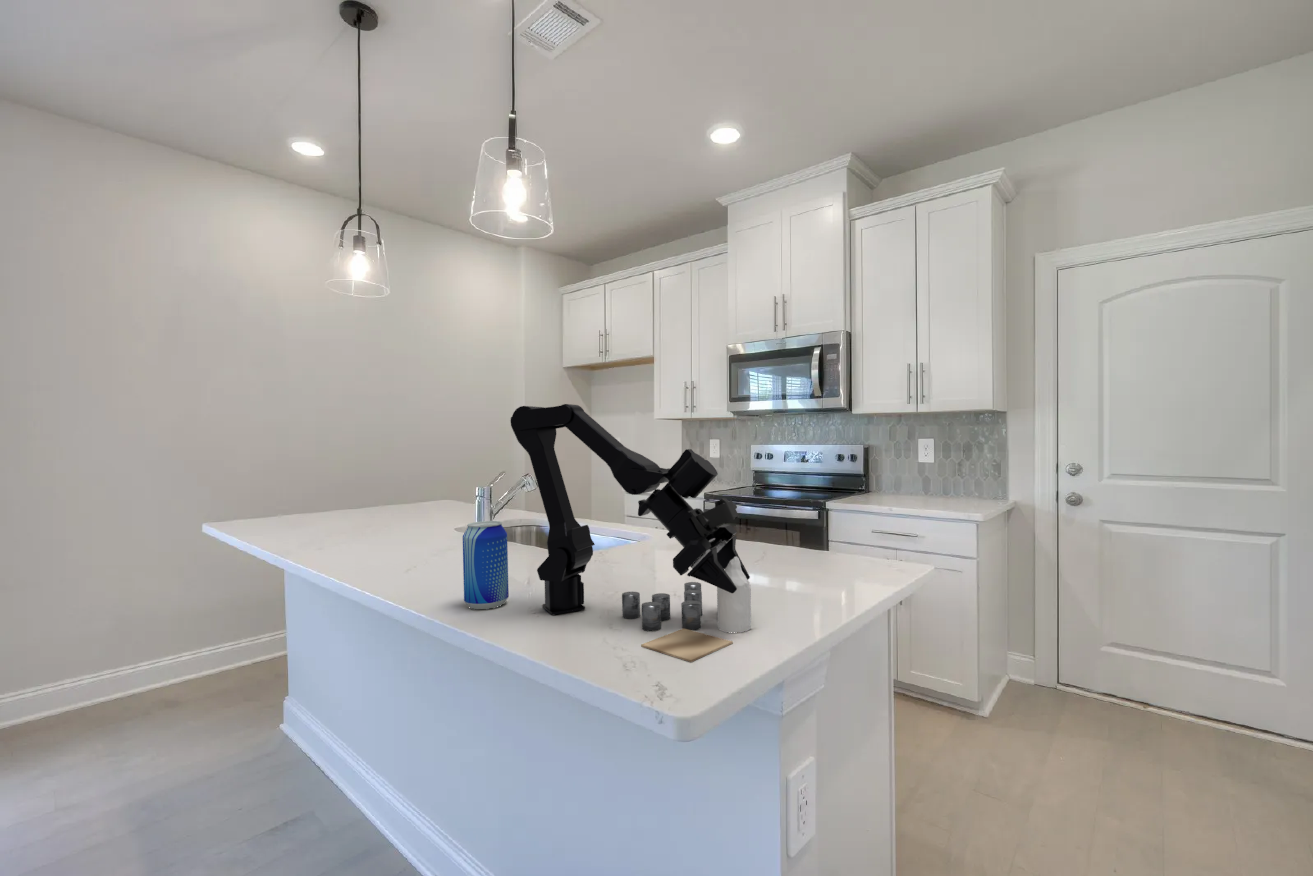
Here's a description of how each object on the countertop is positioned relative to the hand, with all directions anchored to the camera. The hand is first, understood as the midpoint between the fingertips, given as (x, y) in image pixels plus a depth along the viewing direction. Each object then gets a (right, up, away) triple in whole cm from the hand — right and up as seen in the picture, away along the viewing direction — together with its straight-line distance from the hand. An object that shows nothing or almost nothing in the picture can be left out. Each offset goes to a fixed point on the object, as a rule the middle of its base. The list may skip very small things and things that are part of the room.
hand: (741, 585), depth 98 cm
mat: (-9, -7, -7) cm, 14 cm away
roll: (-1, -7, +1) cm, 7 cm away
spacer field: (-10, -7, +6) cm, 14 cm away
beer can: (-47, -9, +18) cm, 51 cm away
